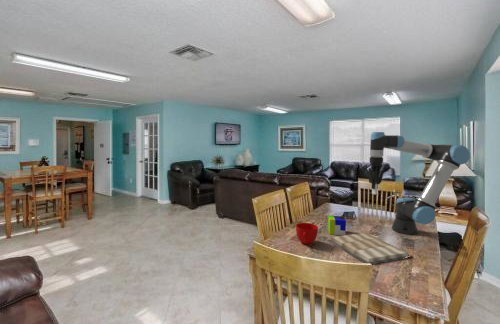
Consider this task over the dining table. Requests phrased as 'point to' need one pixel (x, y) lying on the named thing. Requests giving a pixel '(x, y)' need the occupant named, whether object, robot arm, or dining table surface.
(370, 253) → the birch plank
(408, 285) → the dining table surface
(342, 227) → the puzzle toy
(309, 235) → the ceramic cup
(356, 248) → the floor section
